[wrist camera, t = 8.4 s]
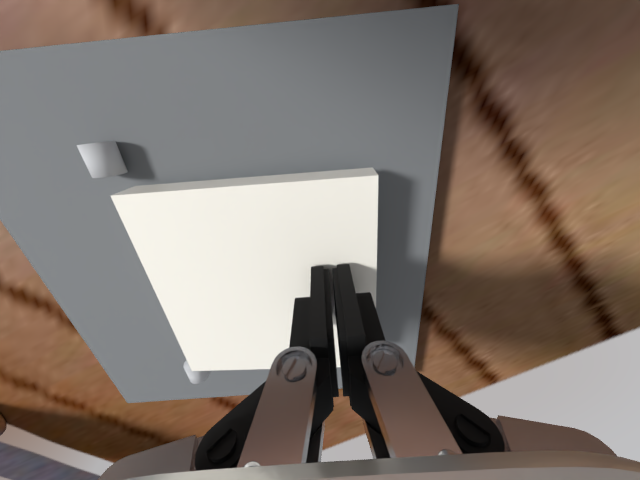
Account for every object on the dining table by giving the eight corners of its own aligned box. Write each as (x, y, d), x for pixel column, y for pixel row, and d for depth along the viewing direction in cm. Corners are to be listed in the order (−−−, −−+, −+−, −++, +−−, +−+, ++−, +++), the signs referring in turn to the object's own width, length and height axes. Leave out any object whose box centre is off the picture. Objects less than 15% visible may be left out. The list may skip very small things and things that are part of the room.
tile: (110, 195, 10) (378, 175, 9) (138, 184, 11) (371, 166, 10) (191, 370, 14) (374, 366, 13) (204, 347, 16) (370, 341, 15)
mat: (-64, 67, 10) (-167, 55, 8) (442, 16, 10) (478, -12, 8) (138, 386, 19) (115, 421, 17) (406, 367, 19) (418, 401, 16)
